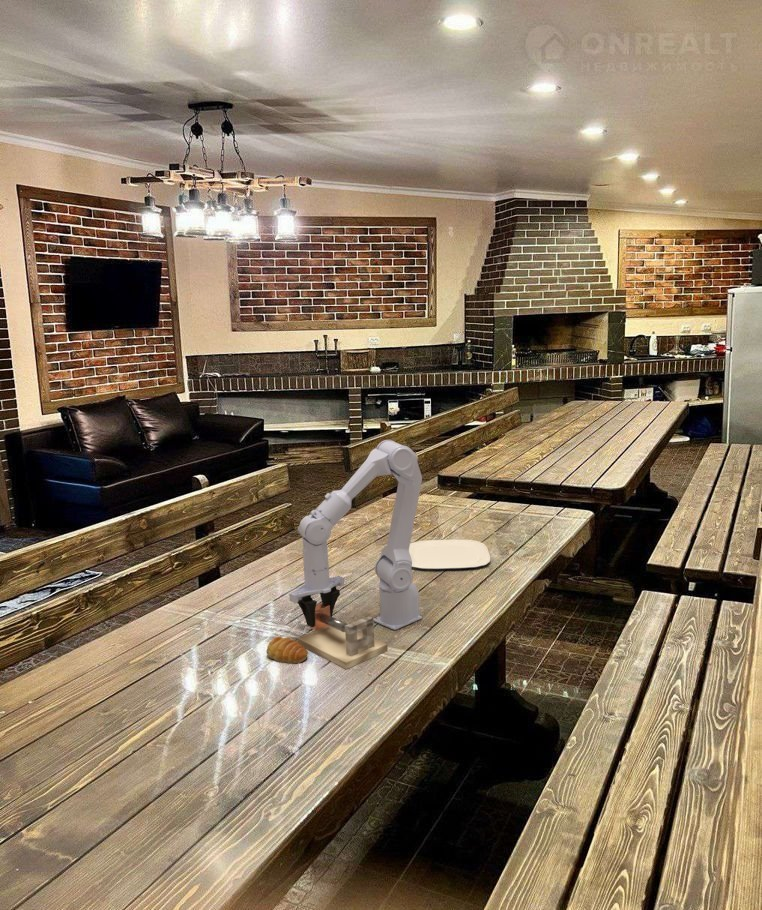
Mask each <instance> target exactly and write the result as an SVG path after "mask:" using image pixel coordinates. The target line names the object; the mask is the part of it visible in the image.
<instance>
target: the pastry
mask: <svg viewBox="0 0 762 910" xmlns="http://www.w3.org/2000/svg"><path fill="white" fill-rule="evenodd" d="M308 651H309V650H308V649H306V648H305V647H304V646H302V645H301V644H300V643H298V642H297V640H295V639H294V638H293V639H292V638H290V637H288V636H287V637H282V636H275V637H273V638H272V639H271V641H270V642H268V645H267V649H266V651H265V652H266V655H267V656H268V657H269V658H270V659H271V660H274V661H275V662H278V663H279V662H280V663H286V664H300V663H302V662H303V661H305V660H307V658H308V655H309V653H308Z"/></svg>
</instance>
